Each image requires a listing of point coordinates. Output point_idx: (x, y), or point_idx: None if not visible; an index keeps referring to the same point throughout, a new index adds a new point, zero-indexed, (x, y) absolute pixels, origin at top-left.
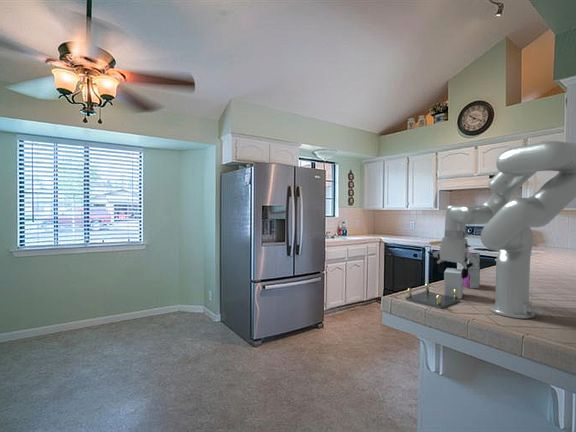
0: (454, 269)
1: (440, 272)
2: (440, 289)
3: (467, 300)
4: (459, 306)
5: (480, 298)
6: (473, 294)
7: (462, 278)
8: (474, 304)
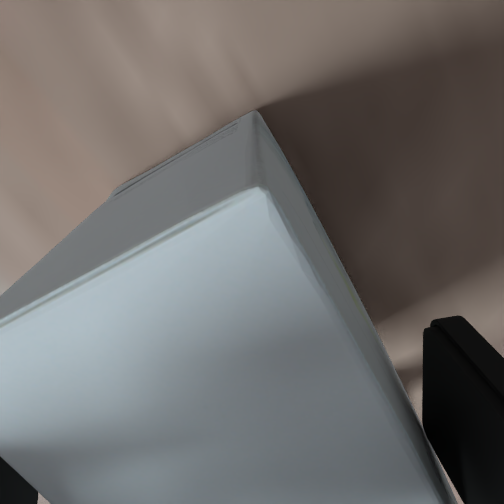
0: (207, 444)
1: (29, 498)
2: (4, 166)
3: (414, 299)
4: (444, 469)
5: (469, 117)
6: (343, 9)
7: (363, 313)
8: (501, 350)
